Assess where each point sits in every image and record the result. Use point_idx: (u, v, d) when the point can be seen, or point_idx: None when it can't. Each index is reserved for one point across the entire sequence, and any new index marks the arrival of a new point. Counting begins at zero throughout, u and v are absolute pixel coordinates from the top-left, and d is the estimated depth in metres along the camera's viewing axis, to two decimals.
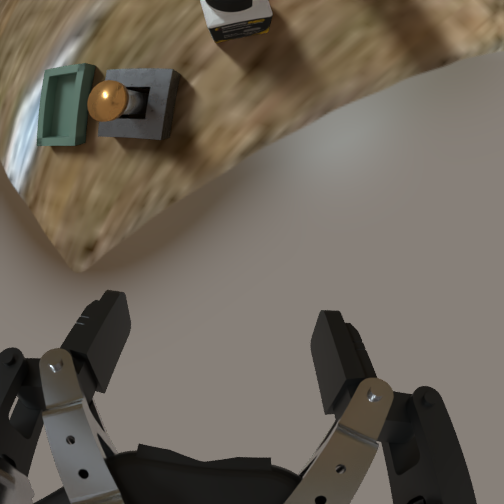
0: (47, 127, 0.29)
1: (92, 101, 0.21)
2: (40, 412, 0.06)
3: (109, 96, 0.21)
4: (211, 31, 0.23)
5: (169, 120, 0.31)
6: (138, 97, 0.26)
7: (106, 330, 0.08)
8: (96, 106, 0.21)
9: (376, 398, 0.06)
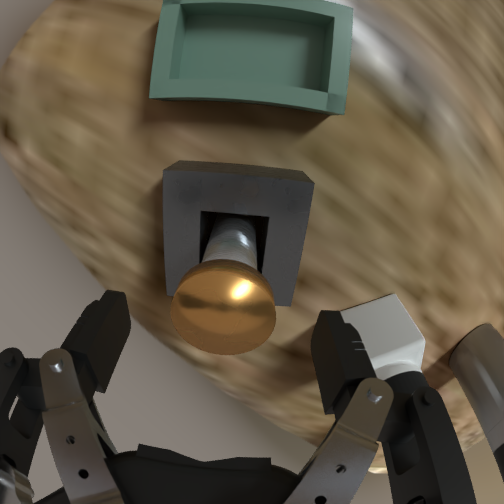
0: (206, 9, 0.12)
1: (223, 289, 0.11)
2: (40, 412, 0.06)
3: (232, 328, 0.11)
4: None
5: None
6: None
7: (106, 330, 0.08)
8: (208, 300, 0.11)
9: (376, 398, 0.06)
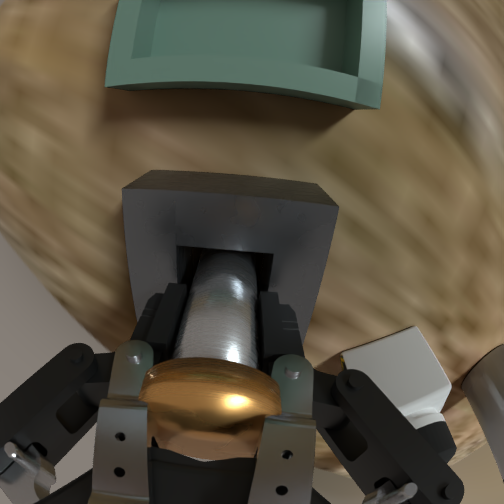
0: None
1: (206, 411, 0.06)
2: (96, 412, 0.07)
3: (223, 443, 0.07)
4: None
5: None
6: None
7: (176, 321, 0.10)
8: (184, 419, 0.06)
9: (292, 374, 0.07)
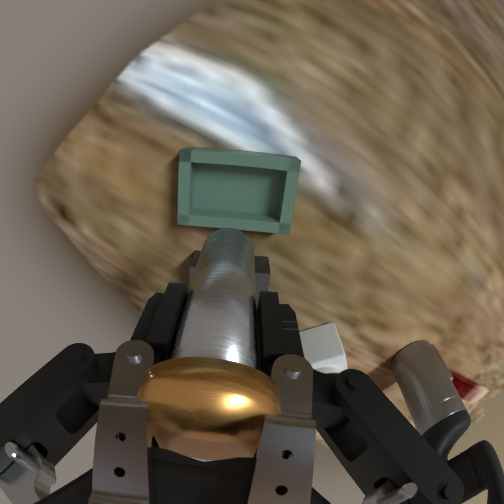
0: None
1: (204, 411, 0.06)
2: (96, 412, 0.07)
3: (222, 443, 0.07)
4: None
5: None
6: None
7: (176, 321, 0.10)
8: (183, 419, 0.06)
9: (291, 374, 0.07)
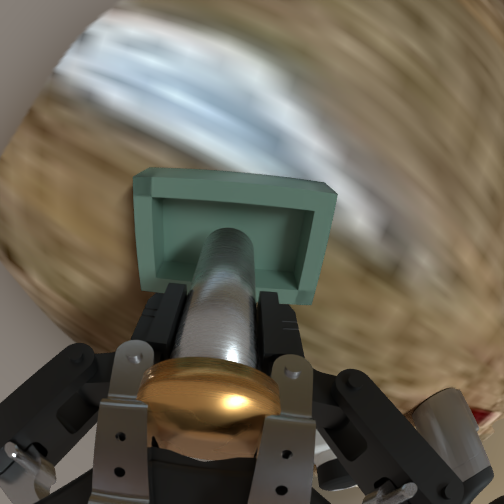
0: None
1: (204, 411, 0.06)
2: (96, 412, 0.07)
3: (222, 443, 0.07)
4: None
5: None
6: None
7: (176, 321, 0.10)
8: (183, 419, 0.06)
9: (291, 374, 0.07)
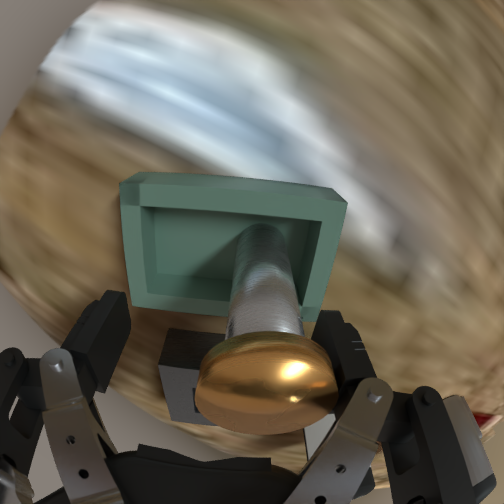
0: None
1: (273, 378, 0.07)
2: (40, 412, 0.06)
3: (278, 414, 0.08)
4: (306, 452, 0.23)
5: None
6: None
7: (106, 330, 0.08)
8: (251, 389, 0.07)
9: (376, 398, 0.06)
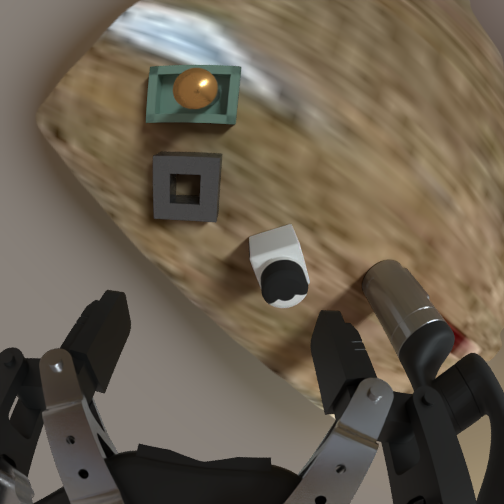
0: (170, 75, 0.30)
1: (195, 73, 0.22)
2: (40, 412, 0.06)
3: (198, 92, 0.23)
4: (249, 254, 0.39)
5: None
6: None
7: (106, 330, 0.08)
8: (189, 79, 0.23)
9: (376, 398, 0.06)
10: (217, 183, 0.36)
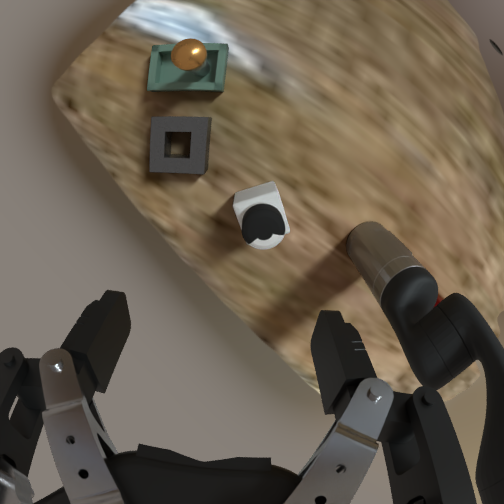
0: (169, 52, 0.34)
1: (189, 43, 0.26)
2: (40, 412, 0.06)
3: (191, 56, 0.27)
4: (233, 203, 0.42)
5: None
6: (198, 71, 0.32)
7: (106, 330, 0.08)
8: (184, 47, 0.26)
9: (376, 398, 0.06)
10: (205, 139, 0.39)
